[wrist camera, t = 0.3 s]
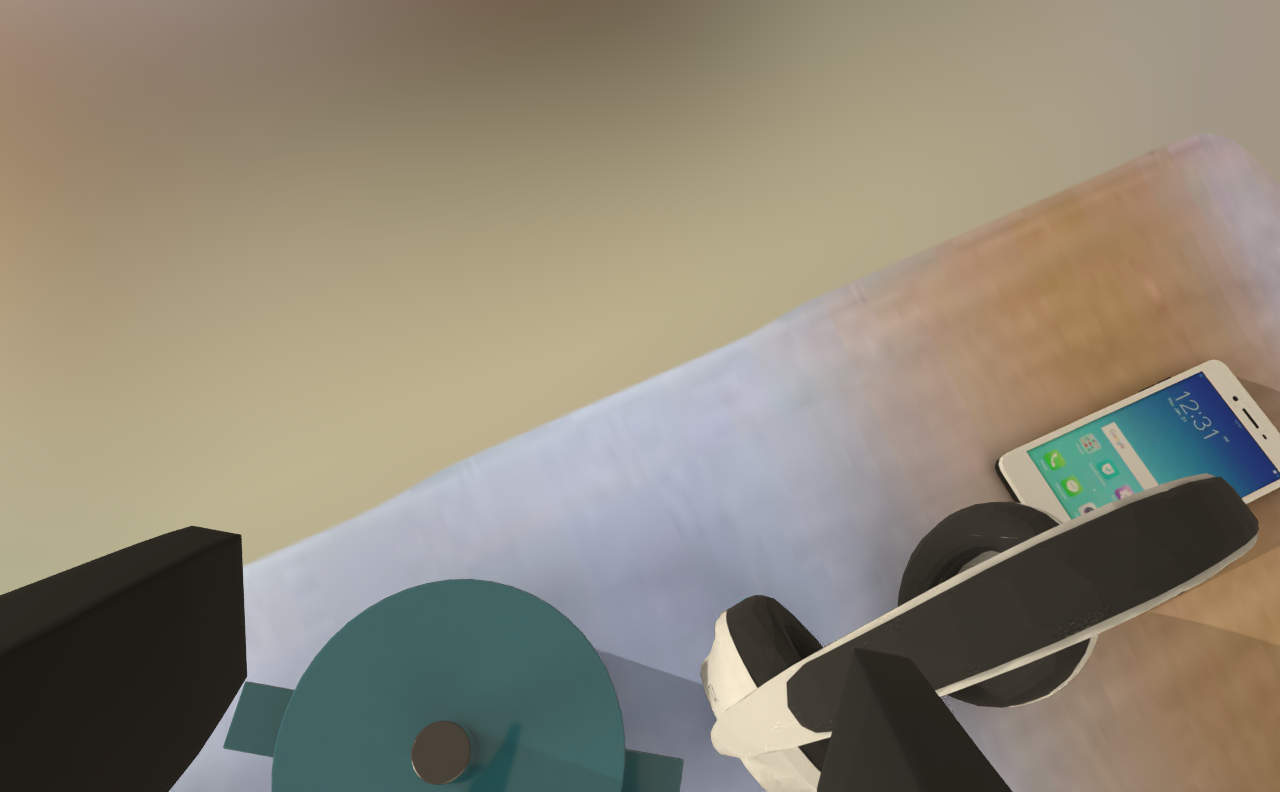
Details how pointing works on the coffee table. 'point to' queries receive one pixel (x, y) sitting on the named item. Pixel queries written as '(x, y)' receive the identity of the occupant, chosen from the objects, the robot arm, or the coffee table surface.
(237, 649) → the robot arm
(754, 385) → the coffee table surface
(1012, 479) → the smartphone
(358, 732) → the pot lid
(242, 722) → the pot
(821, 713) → the headphones
